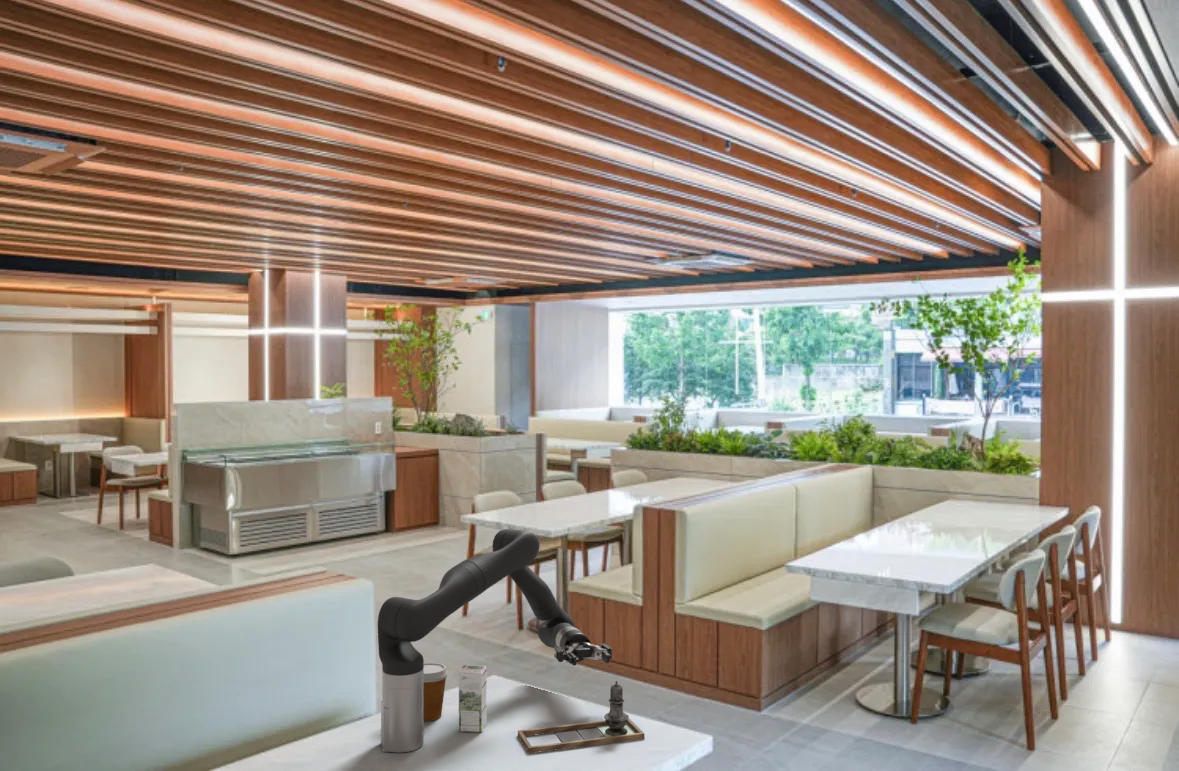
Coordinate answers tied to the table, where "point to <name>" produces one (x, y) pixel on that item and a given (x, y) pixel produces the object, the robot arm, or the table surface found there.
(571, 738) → the tray
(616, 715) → the salt shaker
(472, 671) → the syrup box
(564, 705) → the table surface
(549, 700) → the table surface
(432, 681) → the disposable coffee cup
